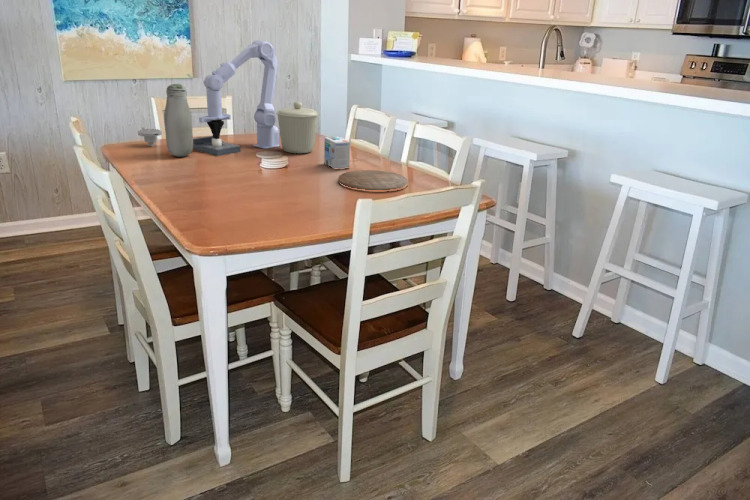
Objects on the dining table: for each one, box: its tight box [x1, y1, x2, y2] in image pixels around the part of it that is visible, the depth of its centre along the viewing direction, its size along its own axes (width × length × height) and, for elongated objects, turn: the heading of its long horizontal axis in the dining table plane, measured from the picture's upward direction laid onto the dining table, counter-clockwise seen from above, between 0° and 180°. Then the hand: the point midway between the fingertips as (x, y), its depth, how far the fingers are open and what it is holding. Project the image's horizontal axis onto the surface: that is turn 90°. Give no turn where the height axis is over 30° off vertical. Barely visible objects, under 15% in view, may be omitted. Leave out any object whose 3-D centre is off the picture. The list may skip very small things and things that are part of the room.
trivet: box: [337, 169, 409, 190], centre depth 207 cm, size 25×25×2 cm
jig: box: [192, 135, 242, 157], centre depth 243 cm, size 12×16×4 cm
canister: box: [275, 101, 320, 155], centre depth 246 cm, size 18×18×21 cm
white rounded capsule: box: [212, 137, 223, 147], centre depth 242 cm, size 4×4×5 cm
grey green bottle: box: [163, 83, 194, 158], centre depth 226 cm, size 10×10×28 cm
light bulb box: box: [323, 136, 351, 168], centre depth 226 cm, size 11×7×11 cm, turn 27°
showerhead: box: [137, 126, 163, 147], centre depth 244 cm, size 9×7×10 cm
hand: (216, 138), depth 241 cm, fingers closed
